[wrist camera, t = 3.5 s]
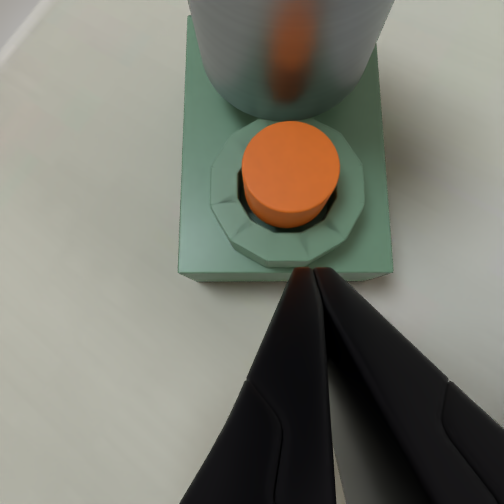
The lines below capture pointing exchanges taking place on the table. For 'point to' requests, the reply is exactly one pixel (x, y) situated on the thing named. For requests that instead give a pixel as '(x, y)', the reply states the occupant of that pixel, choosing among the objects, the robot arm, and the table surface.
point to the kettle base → (241, 216)
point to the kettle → (286, 51)
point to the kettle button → (289, 173)
